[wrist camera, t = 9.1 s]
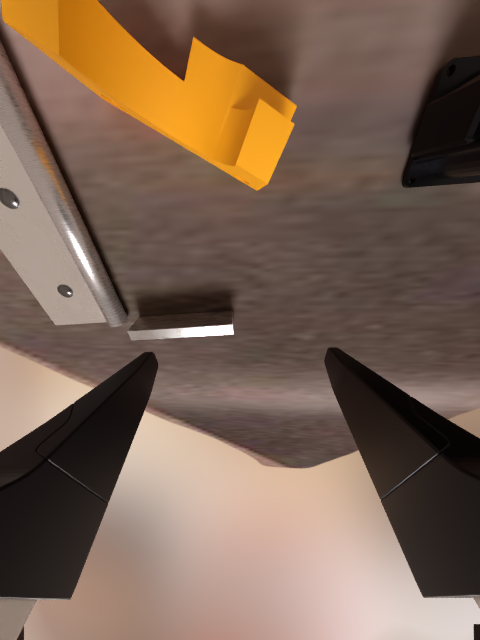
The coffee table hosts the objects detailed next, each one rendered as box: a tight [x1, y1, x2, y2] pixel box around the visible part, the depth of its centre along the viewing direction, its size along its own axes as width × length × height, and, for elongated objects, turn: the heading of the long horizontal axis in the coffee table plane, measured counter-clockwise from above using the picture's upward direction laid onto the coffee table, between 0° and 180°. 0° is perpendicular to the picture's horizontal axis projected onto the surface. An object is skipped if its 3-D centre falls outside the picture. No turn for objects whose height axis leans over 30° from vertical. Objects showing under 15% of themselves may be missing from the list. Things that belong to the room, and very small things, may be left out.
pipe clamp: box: [1, 0, 297, 190], centre depth 10 cm, size 12×4×6 cm, turn 65°
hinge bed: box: [0, 41, 234, 340], centre depth 14 cm, size 20×25×3 cm
